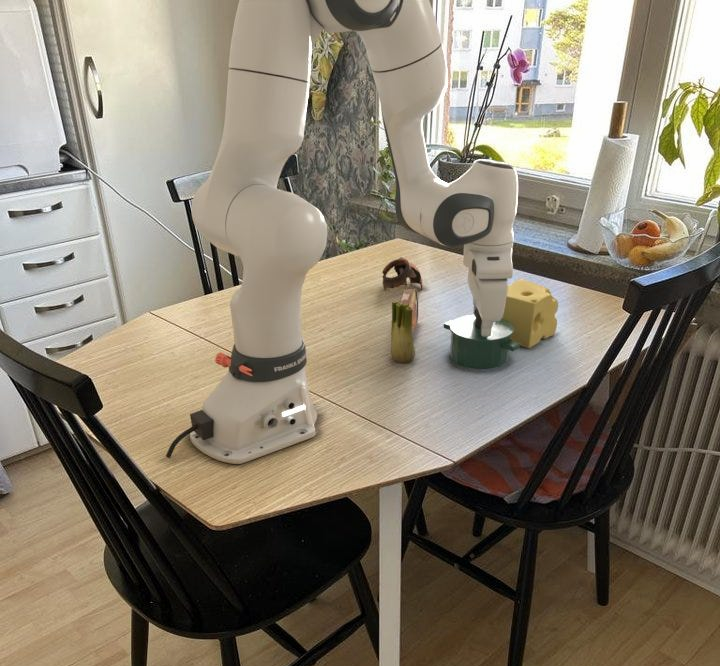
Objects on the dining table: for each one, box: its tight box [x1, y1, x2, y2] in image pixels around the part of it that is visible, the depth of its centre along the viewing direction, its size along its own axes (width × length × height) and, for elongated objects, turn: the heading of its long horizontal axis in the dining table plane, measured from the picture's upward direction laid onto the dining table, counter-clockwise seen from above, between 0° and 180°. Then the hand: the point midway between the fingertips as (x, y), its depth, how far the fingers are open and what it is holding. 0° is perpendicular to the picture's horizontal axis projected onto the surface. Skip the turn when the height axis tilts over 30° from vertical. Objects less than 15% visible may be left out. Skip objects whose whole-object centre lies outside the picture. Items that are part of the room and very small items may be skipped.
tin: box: [398, 288, 419, 334], centre depth 152 cm, size 15×3×8 cm, turn 168°
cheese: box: [502, 278, 559, 349], centre depth 150 cm, size 10×11×10 cm
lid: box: [449, 309, 514, 342], centre depth 139 cm, size 12×12×5 cm
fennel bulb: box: [390, 300, 416, 364], centre depth 140 cm, size 6×5×12 cm
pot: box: [443, 319, 521, 370], centre depth 142 cm, size 11×17×6 cm
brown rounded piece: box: [381, 257, 424, 291], centre depth 176 cm, size 12×10×8 cm
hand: (481, 325), depth 140 cm, fingers open, 8 cm apart
